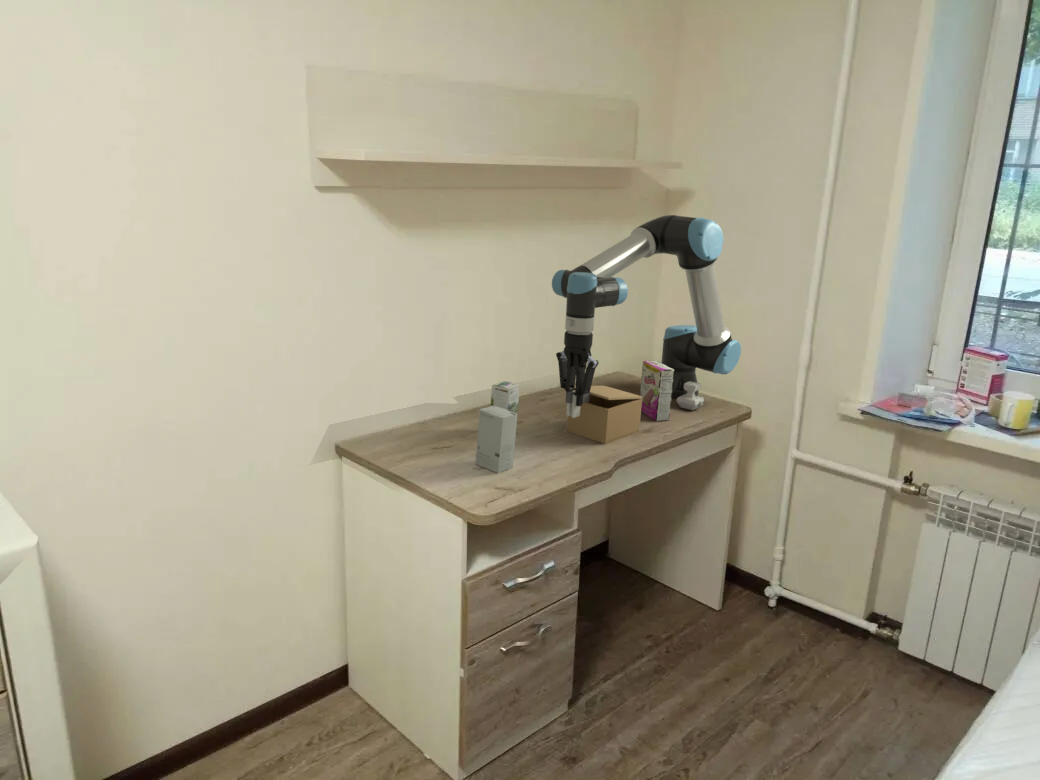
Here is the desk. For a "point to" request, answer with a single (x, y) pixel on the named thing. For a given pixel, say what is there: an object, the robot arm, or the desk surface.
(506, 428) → the skincare box
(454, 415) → the desk surface
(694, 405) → the stamp
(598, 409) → the carton
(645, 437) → the desk surface
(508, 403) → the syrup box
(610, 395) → the flap
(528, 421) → the desk surface
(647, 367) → the candy bar box
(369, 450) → the desk surface
